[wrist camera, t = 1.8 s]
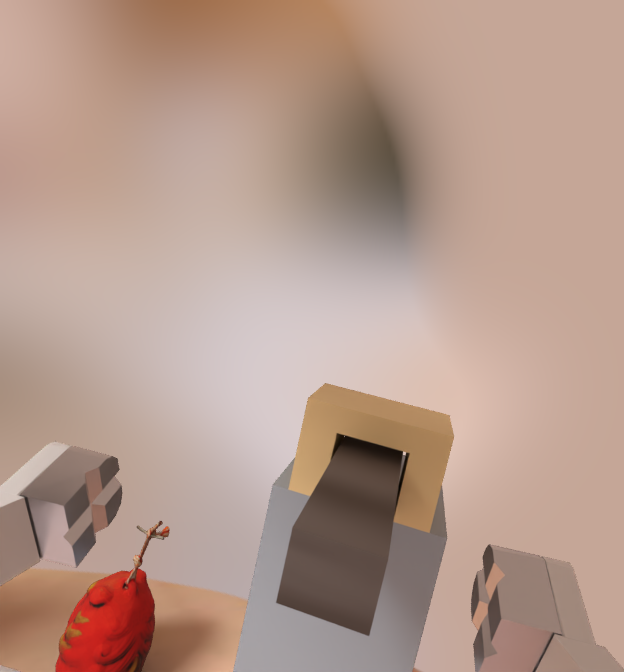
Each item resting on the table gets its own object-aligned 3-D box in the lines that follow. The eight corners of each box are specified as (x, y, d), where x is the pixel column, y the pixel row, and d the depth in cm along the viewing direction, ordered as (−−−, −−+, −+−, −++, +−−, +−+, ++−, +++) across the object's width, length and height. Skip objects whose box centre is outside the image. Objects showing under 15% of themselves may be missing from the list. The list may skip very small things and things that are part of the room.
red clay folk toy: (106, 630, 46) (133, 480, 44) (165, 667, 43) (196, 509, 42) (32, 686, 39) (60, 510, 37) (97, 734, 36) (130, 548, 35)
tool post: (350, 909, 29) (472, 441, 26) (198, 837, 31) (292, 393, 28) (371, 735, 41) (457, 397, 37) (259, 691, 43) (331, 365, 39)
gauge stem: (369, 636, 17) (388, 558, 17) (275, 602, 18) (292, 526, 18) (398, 457, 37) (407, 419, 36) (352, 445, 37) (361, 407, 37)
